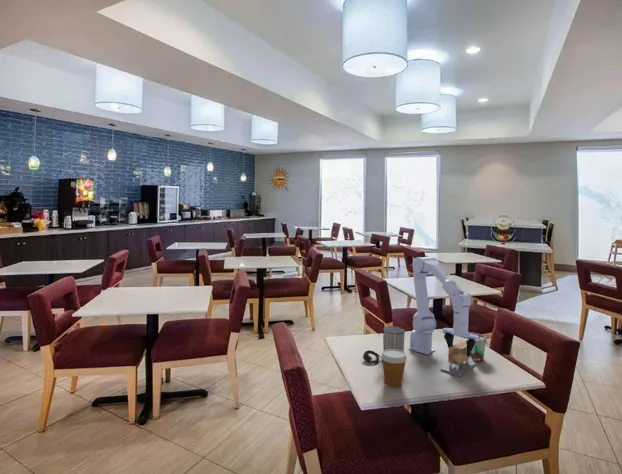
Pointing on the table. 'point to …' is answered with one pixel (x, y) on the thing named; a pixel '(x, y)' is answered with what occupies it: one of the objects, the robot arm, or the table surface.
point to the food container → (478, 348)
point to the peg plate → (458, 368)
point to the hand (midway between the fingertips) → (459, 353)
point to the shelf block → (458, 353)
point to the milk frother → (388, 342)
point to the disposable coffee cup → (393, 367)
